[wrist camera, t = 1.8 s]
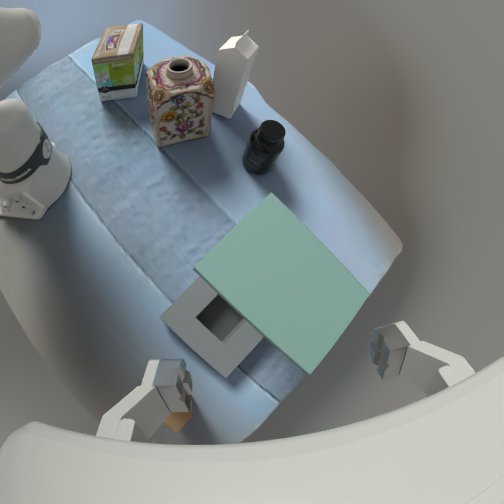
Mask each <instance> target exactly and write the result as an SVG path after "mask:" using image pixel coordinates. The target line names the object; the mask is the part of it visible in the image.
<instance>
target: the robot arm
mask: <svg viewBox="0 0 504 504" xmlns="http://www.w3.org/2000/svg"><path fill="white" fill-rule="evenodd" d="M40 39H41V24H40V21H39V19H38V17H37V16H36V14H35V13H34V12H32V11H30V10H28V9H25V8H10V9H9V8H1V7H0V88H1V87H2V86H3V85H4V84H5V83H6V82H7V81H8V80H9V79H10V78H11V77H12V76H13V75H14V74H15V73H16V72H17V71H18V70H19V68H20V67H21V66H22V65H23V64H24V63H25V62H26V61H27V59H28V58H29V57H30V56H31V55H32V54H33V52H34V51H35V50H36V49H37V48H38V46H39V43H40ZM70 175H71V164H70V161H69V159H68V157H67V156H66V155H65V154H63V153H62V152H61V151H59V150H58V149H57V147H56V145H55V144H54V143H53V142H51V141H50V140H49V139H48V136H47V134H46V133H45V131H44V130H43V128H42V126H41V125H40V124H39V123H37V122H36V121H35V120H34V118H33V116H32V115H31V113H30V111H29V109H28V108H27V106H26V104H25V103H24V102H23V101H21V100H19V99H14V98H13V99H6V100H2V101H0V216H6V217H16V218H25V219H34V220H39V219H41V218H42V217H43V215H44V214H45V212H46V211H47V209H48V208H49V206H50V205H52V204H53V203H54V202H55V201H56V200H57V199H58V198H59V197H60V196H61V195H62V193H63V192H64V190H65V188H66V186H67V184H68V182H69V179H70ZM34 212H35V214H34ZM371 337H372V338H373V341H372V342H371V343H370V347H369V352H370V357H371V360H372V362H373V363H374V364H376V365H378V368H377V371H378V373H379V375H380V376H381V378H382V380H385V379H388V378H392V377H395V376H398V375H399V376H400V377H401V378H403V379H404V380H406V381H407V382H409V383H410V384H412V385H414V386H415V387H417V388H418V389H420V390H421V391H423V392H424V393H426V394H427V396H426V398H424V399H422V400H419V401H417V402H414V403H412V404H409V405H407V406H404V407H402V408H399V409H396V410H394V411H391V412H388V413H385V414H382V415H379V416H376V417H373V418H370V419H366V420H363V421H360V422H357V423H353V424H349V425H345V426H341V427H338V428H334V429H329V430H325V431H320V432H316V433H311V434H306V435H301V436H295V437H289V438H282V439H275V440H268V441H259V442H250V443H236V444H218V445H173V444H155V443H152V442H151V441H150V440H149V439H150V438H151V437H152V436H153V434H154V433H155V432H156V431H157V430H158V428H159V427H160V426H161V425H162V423H163V422H164V421H165V420H166V419H167V417H168V416H169V415H170V414H171V413H170V412H189V409H190V401H191V400H190V397H189V394H190V393H191V392H192V379H191V375H190V373H189V371H187V370H186V363H185V361H184V359H161V360H150V361H149V362H148V365H147V368H146V371H145V374H144V377H143V380H142V383H141V386H137V387H136V388H135V389H134V390H133V391H131V392H130V393H129V394H128V395H127V396H126V397H124V398H123V399H122V400H121V401H120V402H118V403H117V404H116V405H115V406H114V407H112V408H111V409H110V410H109V411H108V412H106V413H105V414H104V415H103V417H102V420H101V422H100V425H99V428H98V431H97V434H96V436H93V435H88V434H83V433H78V432H74V431H70V430H66V429H62V428H58V427H54V426H51V425H47V424H44V423H41V422H37V421H32V422H30V423H28V424H26V425H25V426H23V427H21V428H20V429H18V430H17V431H15V432H14V433H12V434H11V435H10V436H9V437H8V438H7V439H6V441H5V443H4V444H3V446H2V448H1V449H0V504H504V356H502V357H501V358H499V359H498V360H496V361H495V362H493V363H491V364H490V365H488V366H487V367H485V368H483V369H482V370H480V371H478V372H476V373H475V371H474V370H473V369H472V368H471V366H470V365H469V364H468V363H467V361H466V360H465V359H464V358H463V357H462V356H459V355H457V354H454V353H452V352H449V351H447V350H444V349H442V348H439V347H437V346H434V345H432V344H430V343H427V342H425V341H422V342H420V341H419V339H418V338H417V337H416V335H415V334H414V333H413V331H412V330H411V329H410V328H409V327H408V325H407V324H406V323H405V322H404V321H400V322H397V323H393V324H390V325H386V326H383V327H379V328H376V329H373V331H372V334H371Z"/></svg>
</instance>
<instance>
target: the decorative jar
mask: <svg viewBox="0 0 504 504" xmlns="http://www.w3.org/2000/svg"><path fill="white" fill-rule="evenodd" d="M145 76H146V91H147V104H148V110H149V115H150V120H151V125H152V129H153V133H154V137H155V141H156V144H157V147H163V146H166V145H170V144H174V143H178V142H183V141H187V140H191V139H196V138H200V137H205V136H208V134H209V130H210V125H211V119H212V113H213V107H214V101H215V91H214V85H213V84H212V78H211V74H210V71H209V69H208V67H207V66H206V64H205V63H204V62H201V61H199V60H198V59H194V58H191V57H188V56H178V57H171V58H167V59H163V60H161V61H160V62H159V63H157V64H156V65H154V66H152V67H151V68H150V69H149V70H148V71H147V72H146V73H145Z"/></svg>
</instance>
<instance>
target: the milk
mask: <svg viewBox="0 0 504 504" xmlns="http://www.w3.org/2000/svg"><path fill="white" fill-rule="evenodd" d="M247 35H248V31H247V32H246V33H245V34H244V35H243V36H238V37H232V38H230V39H229V40H228V41H227V42H226V43H225V44H224V45H223V46H222V47H221V48H220V49H219V51H218V56H217V62H216V66H215V71H214V77H213V82H212V84H213V85H214V91H215V101H214V107H213V113H216V114H219V115H221V116H224V117H226V118H229V119H231V117H232V116H233V114H234V113H235V111H236V109H237V108H238V106H239V105H240V102H241V99H242V96H243V93H244V89H245V86H246V83H247V80H248V77H249V74H250V71H251V68H252V65H253V62H254V59H255V56H256V53H257V50H258V47H259V46H258V45H257V44H256V43H255V42H254V41H252V40H251V39H250V38H249V37H248V36H247Z"/></svg>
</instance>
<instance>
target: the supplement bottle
mask: <svg viewBox="0 0 504 504" xmlns="http://www.w3.org/2000/svg"><path fill="white" fill-rule="evenodd" d="M285 133H286V132H285V128H284V127H283V126H282V125H281V124H280V123H279V122H276V121H274V120H266V121H264V122H263V123H262V124H261V126H260V127H259V128H257V129H255V130H254V131H253V132H252V134H251V136H250V138H249V141H248V144H247V146H246V149H245V151H244V154H243V157H242V162H243V165H244V167H245V168H246V169H247V170H248V171H249V172H251V173H253V174H256V175H263V174H266V173H268V172H269V171H270V170H271V169H272V167H273V166H274V164H275V162H276V161H277V159H278V157H279V156H280V154H281V152H282V151H283V148H284V137H285Z"/></svg>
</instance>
